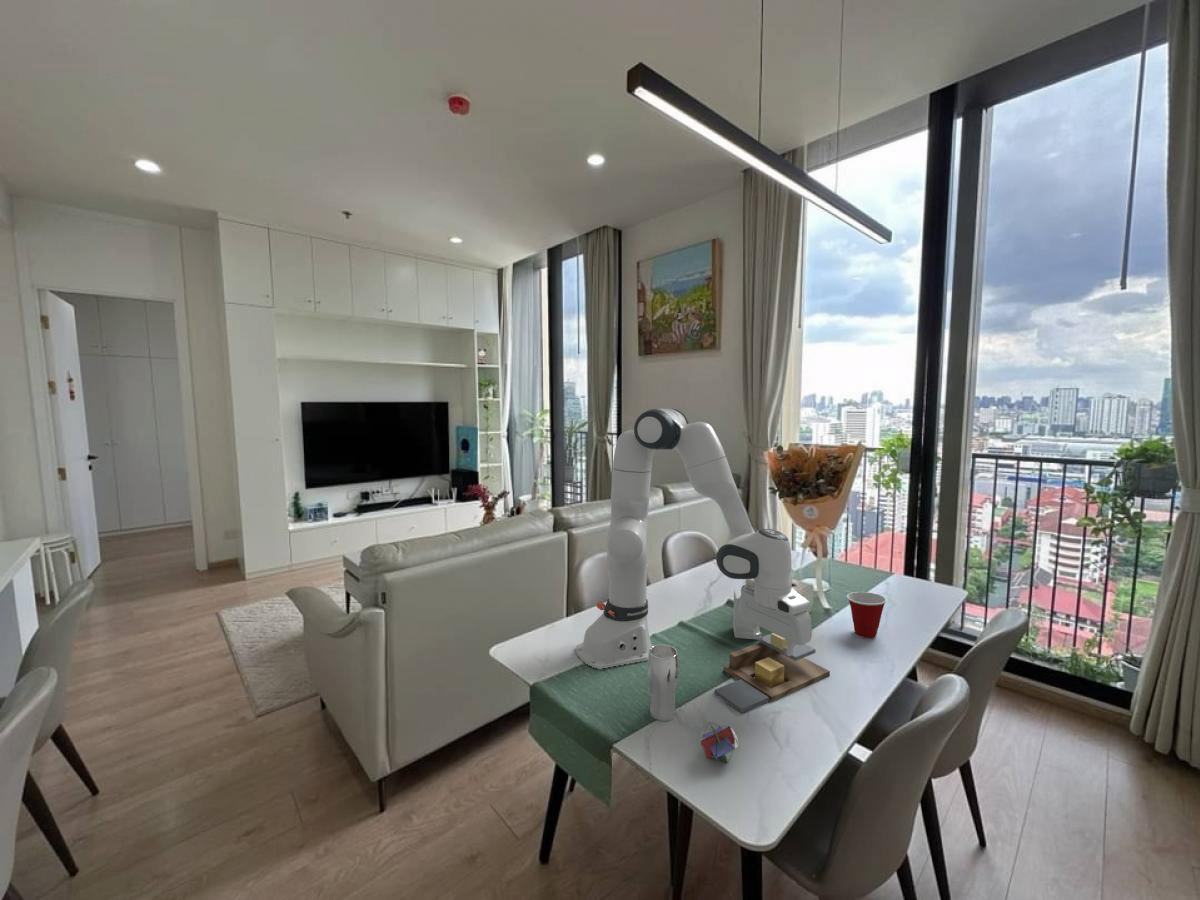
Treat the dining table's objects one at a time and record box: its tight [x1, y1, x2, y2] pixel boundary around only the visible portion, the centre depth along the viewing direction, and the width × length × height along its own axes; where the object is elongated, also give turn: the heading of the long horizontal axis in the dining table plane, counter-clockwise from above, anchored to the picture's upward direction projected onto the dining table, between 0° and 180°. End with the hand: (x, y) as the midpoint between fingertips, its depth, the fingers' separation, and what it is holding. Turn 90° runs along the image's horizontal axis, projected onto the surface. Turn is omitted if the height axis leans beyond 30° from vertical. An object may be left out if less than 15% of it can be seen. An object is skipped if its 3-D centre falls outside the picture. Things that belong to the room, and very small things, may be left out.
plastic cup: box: [846, 591, 887, 639], centre depth 151 cm, size 11×11×12 cm
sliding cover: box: [758, 632, 817, 661], centre depth 133 cm, size 8×12×4 cm, turn 30°
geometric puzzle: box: [699, 721, 739, 764], centre depth 99 cm, size 7×7×8 cm
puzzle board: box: [723, 642, 831, 702], centre depth 130 cm, size 22×16×5 cm
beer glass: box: [647, 643, 679, 722], centre depth 113 cm, size 7×7×15 cm
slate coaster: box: [713, 679, 770, 714], centre depth 119 cm, size 9×9×1 cm
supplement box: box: [732, 589, 761, 640], centre depth 152 cm, size 7×7×13 cm
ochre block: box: [754, 657, 785, 688], centre depth 125 cm, size 5×5×5 cm
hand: (772, 646), depth 125 cm, fingers open, 8 cm apart
